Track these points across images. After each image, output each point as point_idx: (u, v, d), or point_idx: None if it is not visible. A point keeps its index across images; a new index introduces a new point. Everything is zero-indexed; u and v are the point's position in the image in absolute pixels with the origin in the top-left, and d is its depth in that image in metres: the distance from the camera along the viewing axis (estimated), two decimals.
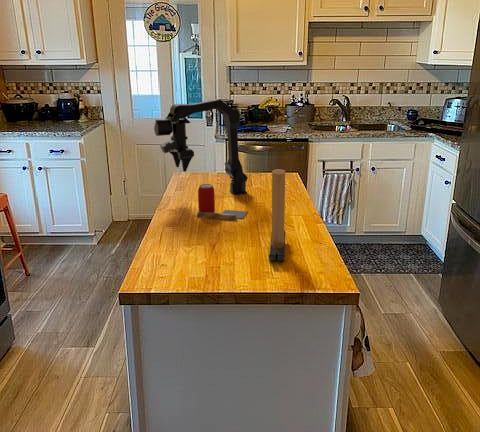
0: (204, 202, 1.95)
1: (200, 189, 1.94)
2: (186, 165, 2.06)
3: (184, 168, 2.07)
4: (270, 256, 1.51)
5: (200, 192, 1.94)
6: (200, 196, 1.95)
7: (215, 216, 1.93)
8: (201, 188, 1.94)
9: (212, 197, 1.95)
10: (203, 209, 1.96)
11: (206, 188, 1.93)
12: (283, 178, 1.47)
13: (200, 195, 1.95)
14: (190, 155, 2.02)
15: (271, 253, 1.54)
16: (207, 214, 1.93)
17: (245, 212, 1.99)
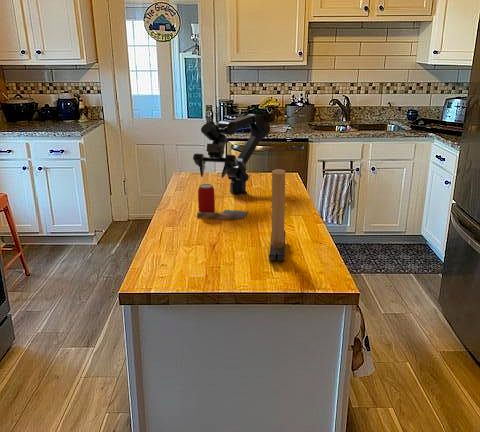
0: (204, 202, 1.95)
1: (200, 189, 1.94)
2: (225, 172, 2.04)
3: (224, 174, 2.02)
4: (270, 256, 1.51)
5: (200, 192, 1.94)
6: (200, 196, 1.95)
7: (215, 216, 1.93)
8: (201, 188, 1.94)
9: (212, 197, 1.95)
10: (203, 209, 1.96)
11: (206, 188, 1.93)
12: (283, 178, 1.47)
13: (200, 195, 1.95)
14: (236, 163, 2.05)
15: (271, 253, 1.54)
16: (207, 214, 1.93)
17: (245, 212, 1.99)
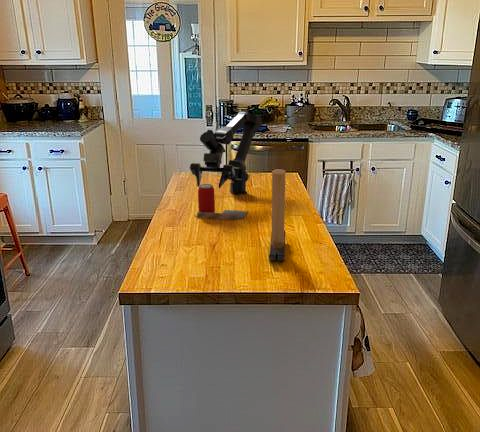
0: (204, 202, 1.95)
1: (200, 189, 1.94)
2: (222, 182, 2.00)
3: (221, 184, 1.99)
4: (270, 256, 1.51)
5: (200, 192, 1.94)
6: (200, 196, 1.95)
7: (215, 216, 1.93)
8: (201, 188, 1.94)
9: (212, 197, 1.95)
10: (203, 209, 1.96)
11: (206, 188, 1.93)
12: (284, 178, 1.47)
13: (200, 195, 1.95)
14: (233, 173, 2.02)
15: (271, 253, 1.54)
16: (207, 214, 1.93)
17: (245, 212, 1.99)
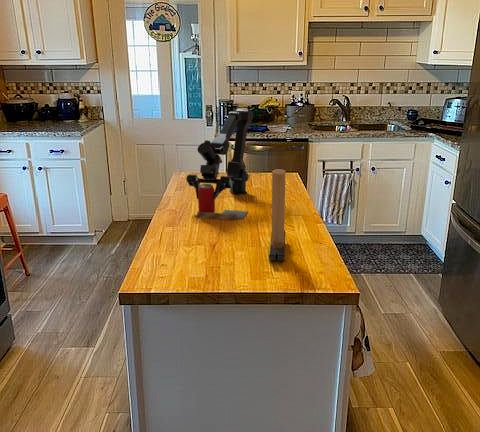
0: (204, 202, 1.95)
1: (200, 189, 1.94)
2: (217, 194, 1.97)
3: (215, 196, 1.96)
4: (270, 256, 1.51)
5: (200, 192, 1.94)
6: (200, 196, 1.95)
7: (215, 216, 1.93)
8: (201, 188, 1.94)
9: (212, 197, 1.95)
10: (203, 209, 1.96)
11: (206, 188, 1.93)
12: (284, 178, 1.47)
13: (200, 195, 1.95)
14: (231, 185, 1.99)
15: (271, 253, 1.54)
16: (207, 214, 1.93)
17: (245, 212, 1.99)
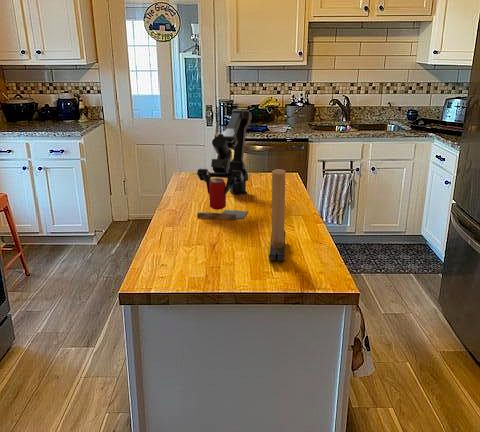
0: (215, 197, 1.93)
1: (211, 183, 1.92)
2: (228, 188, 1.95)
3: (226, 190, 1.94)
4: (270, 256, 1.51)
5: (211, 186, 1.92)
6: (211, 190, 1.93)
7: (215, 216, 1.93)
8: (212, 182, 1.92)
9: (223, 191, 1.94)
10: (214, 204, 1.94)
11: (217, 182, 1.92)
12: (284, 178, 1.47)
13: (211, 189, 1.93)
14: (242, 179, 1.97)
15: (271, 253, 1.54)
16: (207, 214, 1.93)
17: (245, 212, 1.99)
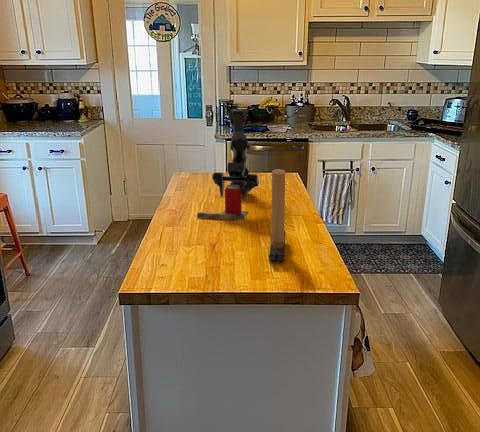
0: (231, 203, 1.92)
1: (227, 190, 1.92)
2: (247, 192, 1.94)
3: (245, 194, 1.93)
4: (270, 256, 1.51)
5: (227, 193, 1.92)
6: (227, 197, 1.92)
7: (215, 216, 1.93)
8: (228, 189, 1.91)
9: (239, 198, 1.93)
10: (230, 210, 1.93)
11: (233, 189, 1.91)
12: (283, 178, 1.47)
13: (227, 196, 1.92)
14: (258, 183, 1.96)
15: (271, 253, 1.54)
16: (207, 214, 1.93)
17: (245, 212, 1.99)
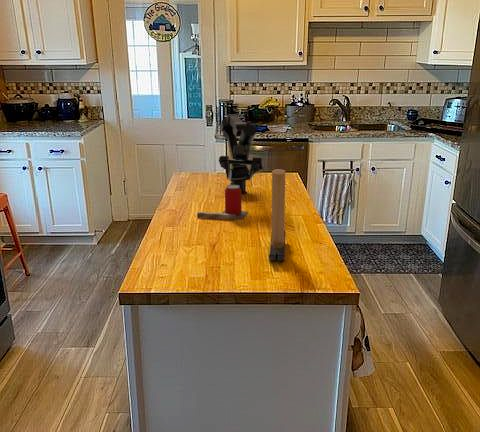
0: (231, 203, 1.92)
1: (227, 190, 1.92)
2: (252, 175, 2.01)
3: (250, 176, 2.00)
4: (270, 256, 1.51)
5: (227, 193, 1.92)
6: (227, 197, 1.92)
7: (215, 216, 1.93)
8: (228, 189, 1.91)
9: (239, 198, 1.93)
10: (230, 210, 1.93)
11: (233, 189, 1.91)
12: (283, 178, 1.47)
13: (227, 196, 1.92)
14: (262, 166, 2.03)
15: (271, 253, 1.54)
16: (207, 214, 1.93)
17: (245, 212, 1.99)
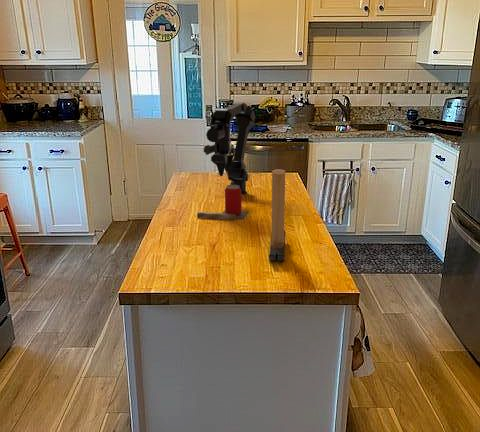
0: (231, 203, 1.92)
1: (227, 190, 1.92)
2: (221, 170, 2.04)
3: (220, 173, 2.05)
4: (270, 256, 1.51)
5: (227, 193, 1.92)
6: (227, 197, 1.92)
7: (215, 216, 1.93)
8: (228, 189, 1.91)
9: (239, 198, 1.93)
10: (230, 210, 1.93)
11: (233, 189, 1.91)
12: (283, 178, 1.47)
13: (227, 196, 1.92)
14: (220, 160, 1.99)
15: (271, 253, 1.54)
16: (207, 214, 1.93)
17: (245, 212, 1.99)
